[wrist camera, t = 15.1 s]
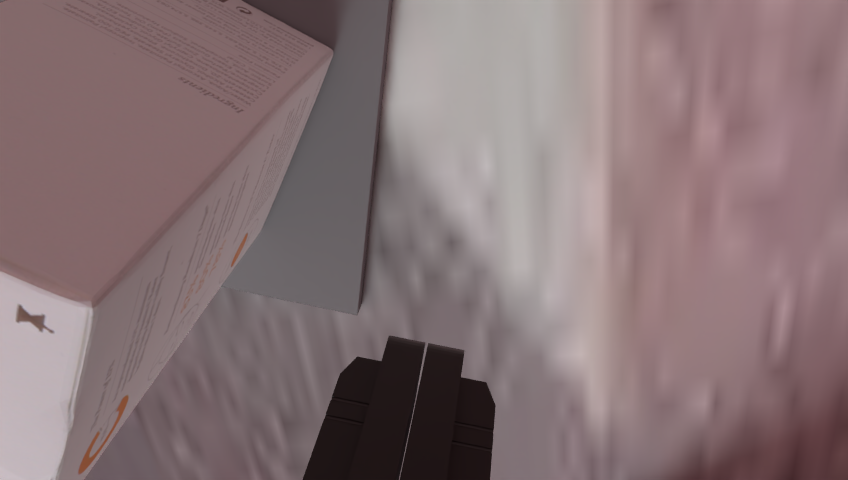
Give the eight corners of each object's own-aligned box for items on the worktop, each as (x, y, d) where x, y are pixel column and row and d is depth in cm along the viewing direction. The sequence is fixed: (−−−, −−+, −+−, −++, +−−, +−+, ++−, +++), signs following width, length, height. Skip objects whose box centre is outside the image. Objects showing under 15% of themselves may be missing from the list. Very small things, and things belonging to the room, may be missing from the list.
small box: (149, -55, 19) (-351, 101, 9) (339, 48, 20) (102, 309, 9) (104, 156, 24) (-263, 434, 13) (262, 233, 25) (39, 557, 14)
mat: (406, -140, 18) (402, -139, 17) (360, 306, 27) (357, 315, 26) (-327, -263, 19) (-351, -266, 18) (-136, 202, 28) (-148, 208, 27)
